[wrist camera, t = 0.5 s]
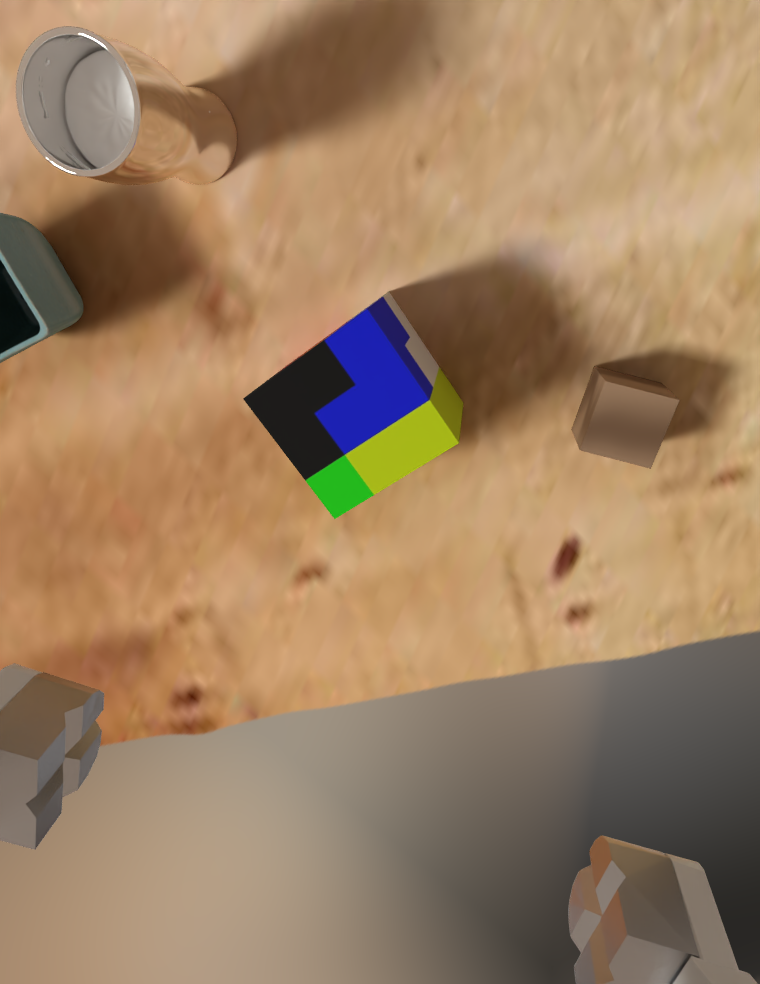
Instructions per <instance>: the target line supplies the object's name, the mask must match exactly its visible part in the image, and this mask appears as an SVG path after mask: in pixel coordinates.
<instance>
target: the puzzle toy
mask: <svg viewBox="0 0 760 984" xmlns="http://www.w3.org/2000/svg"><path fill="white" fill-rule="evenodd" d="M244 400H245V402H246V403H247V404H248V406H249V407H250V408H251V410H252V411H253V412H254V414H255V415H256V416H257V417H258V419H259V420H260V421H261V423H262V424H263V425H264V427H265V428H266V429H267V431H268V432H269V433H270V435H271V436H272V437H273V439H274V440H275V441H276V442H277V444H278V445H279V446H280V448H281V449H282V450H283V452H284V453H285V454H286V456H287V457H288V458H289V460H290V461H291V462H292V464H293V465H294V466H295V467H296V469H297V470H298V471H299V473H300V474H301V475H302V477H303V478H304V479H305V481H306V482H307V483H308V485H309V486H310V487H311V489H312V490H313V491H314V492H315V494H316V495H317V496H318V498H319V499H320V500H321V502H322V503H323V504H324V506H325V507H326V508H327V510H328V511H329V512H330V514H331V515H332V516H333V517H334V519H335V518H337V517H339V516H340V515H342V514H344V513H345V512H347V511H349V510H350V509H352V508H353V507H355V506H357V505H358V504H360V503H362V502H363V501H365V500H367V499H368V498H370V497H371V496H373V495H375V494H376V493H378V492H380V491H381V490H383V489H385V488H386V487H388V486H390V485H391V484H393V483H394V482H396V481H398V480H399V479H401V478H403V477H404V476H406V475H408V474H409V473H411V472H412V471H414V470H416V469H417V468H419V467H421V466H422V465H424V464H426V463H427V462H429V461H430V460H432V459H434V458H435V457H437V456H439V455H440V454H442V453H444V452H445V451H447V450H448V449H450V448H452V447H453V446H455V445H457V444H458V443H459V438H460V429H461V420H462V411H463V402H462V400H461V399H460V397H459V396H458V394H457V393H456V391H455V390H454V388H453V387H452V385H451V384H450V382H449V381H448V379H447V378H446V376H445V375H444V373H443V372H442V370H441V369H440V367H439V366H438V364H437V363H436V361H435V360H434V358H433V357H432V355H431V354H430V352H429V351H428V349H427V348H426V346H425V345H424V343H423V342H422V340H421V339H420V337H419V336H418V334H417V333H416V331H415V330H414V328H413V327H412V325H411V324H410V322H409V321H408V319H407V318H406V316H405V315H404V313H403V312H402V310H401V309H400V307H399V306H398V304H397V303H396V301H395V300H394V298H393V297H392V295H391V294H390V292H388V293H386V294H385V295H383V296H382V297H381V298H379V299H378V300H377V301H375V302H374V303H372V304H371V305H370V306H368V307H367V308H366V309H364V310H363V311H361V312H360V313H359V314H357V315H356V316H355V317H353V318H352V319H350V320H349V321H348V322H346V323H345V324H344V325H342V326H341V327H339V328H338V329H337V330H335V331H334V332H333V333H331V334H330V335H328V336H327V337H326V338H324V339H323V340H322V341H320V342H319V343H317V344H316V345H315V346H313V347H312V348H311V349H309V350H308V351H306V352H305V353H304V354H302V355H301V356H300V357H298V358H297V359H295V360H294V361H293V362H291V363H290V364H289V365H287V366H286V367H284V368H283V369H282V370H281V371H279V372H278V373H277V374H275V375H274V376H273V377H271V378H270V379H269V380H267V381H266V382H265V383H263V384H262V385H261V386H259V387H258V388H257V389H255V390H254V391H253V392H251V393H250V394H249V395H248V396H246V397H245V398H244Z"/></svg>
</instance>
